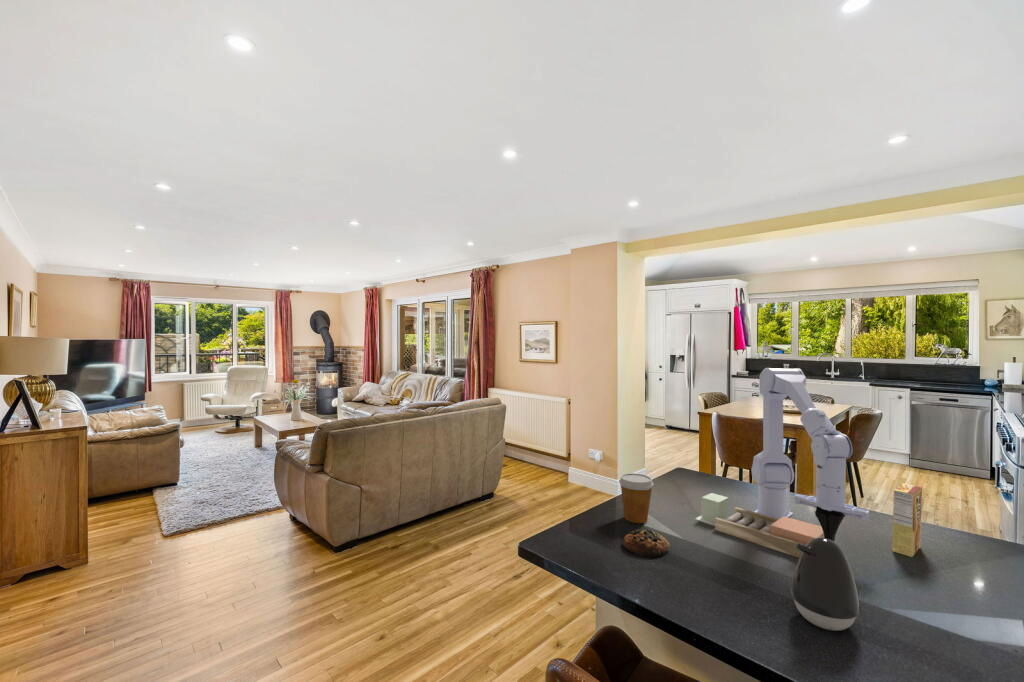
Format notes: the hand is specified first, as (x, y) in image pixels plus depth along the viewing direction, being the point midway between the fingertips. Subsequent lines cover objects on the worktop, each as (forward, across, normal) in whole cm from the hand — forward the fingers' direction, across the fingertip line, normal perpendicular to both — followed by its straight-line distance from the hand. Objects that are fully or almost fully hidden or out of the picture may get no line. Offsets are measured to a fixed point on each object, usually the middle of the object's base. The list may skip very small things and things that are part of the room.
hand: (829, 541), depth 108 cm
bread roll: (+4, -31, -30) cm, 43 cm away
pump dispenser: (+4, +6, -31) cm, 32 cm away
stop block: (+3, -28, +1) cm, 28 cm away
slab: (+1, -6, 0) cm, 7 cm away
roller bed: (+4, -16, 0) cm, 16 cm away
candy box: (+4, +12, +19) cm, 23 cm away
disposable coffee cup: (+4, -42, -17) cm, 46 cm away
